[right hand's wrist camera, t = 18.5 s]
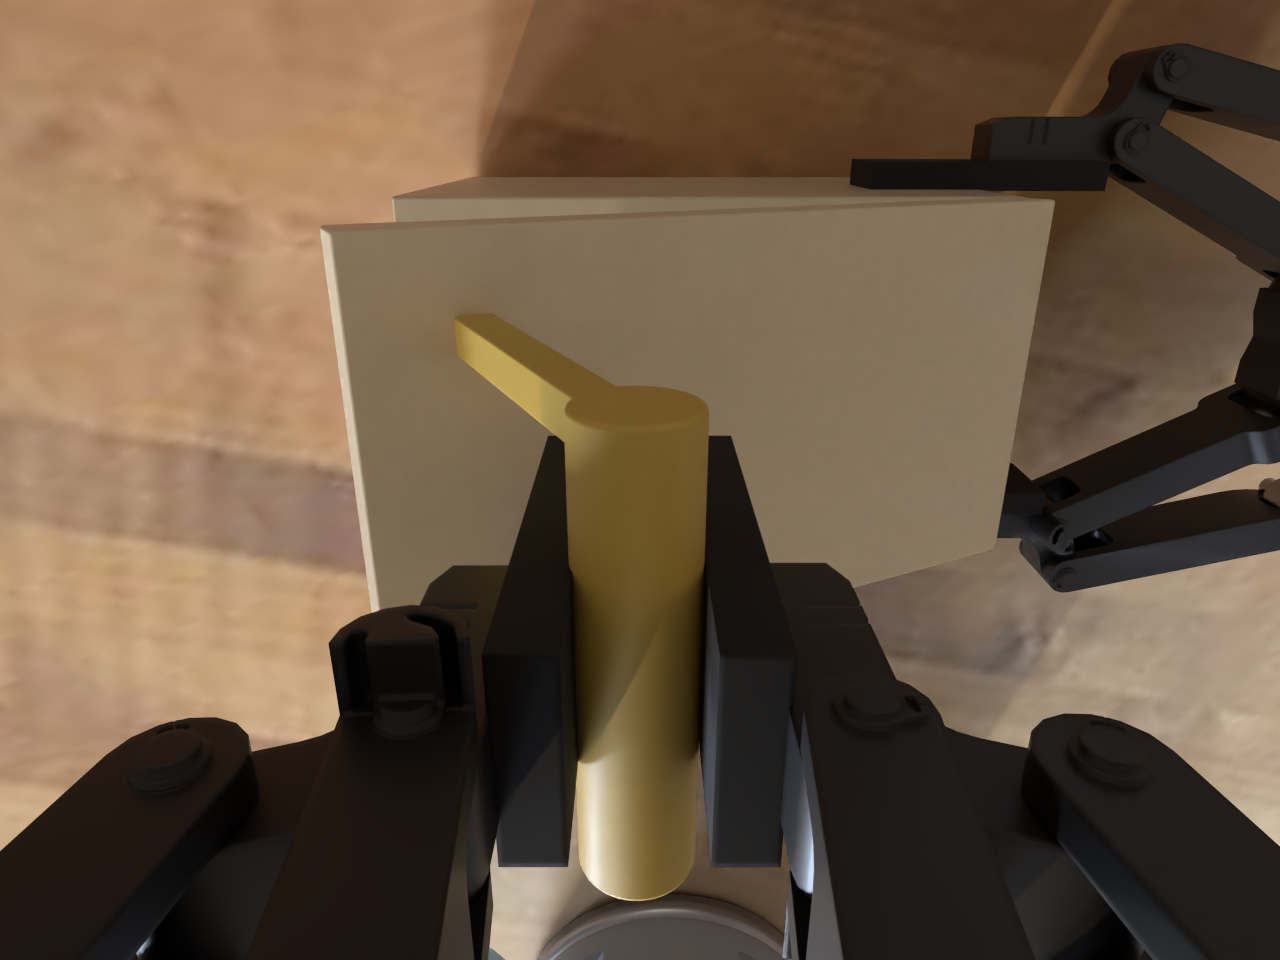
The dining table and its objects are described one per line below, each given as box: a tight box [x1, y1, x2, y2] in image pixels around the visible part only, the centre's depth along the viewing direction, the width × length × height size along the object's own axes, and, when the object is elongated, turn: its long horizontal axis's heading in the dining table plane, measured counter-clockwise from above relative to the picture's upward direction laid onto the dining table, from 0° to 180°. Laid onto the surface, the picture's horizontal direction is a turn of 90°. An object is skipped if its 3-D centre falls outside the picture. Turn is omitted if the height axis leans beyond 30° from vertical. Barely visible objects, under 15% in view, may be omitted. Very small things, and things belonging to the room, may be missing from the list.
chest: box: [392, 177, 1025, 222], centre depth 28 cm, size 16×9×11 cm, turn 90°
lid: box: [320, 197, 1055, 901], centre depth 16 cm, size 16×9×8 cm, turn 89°
